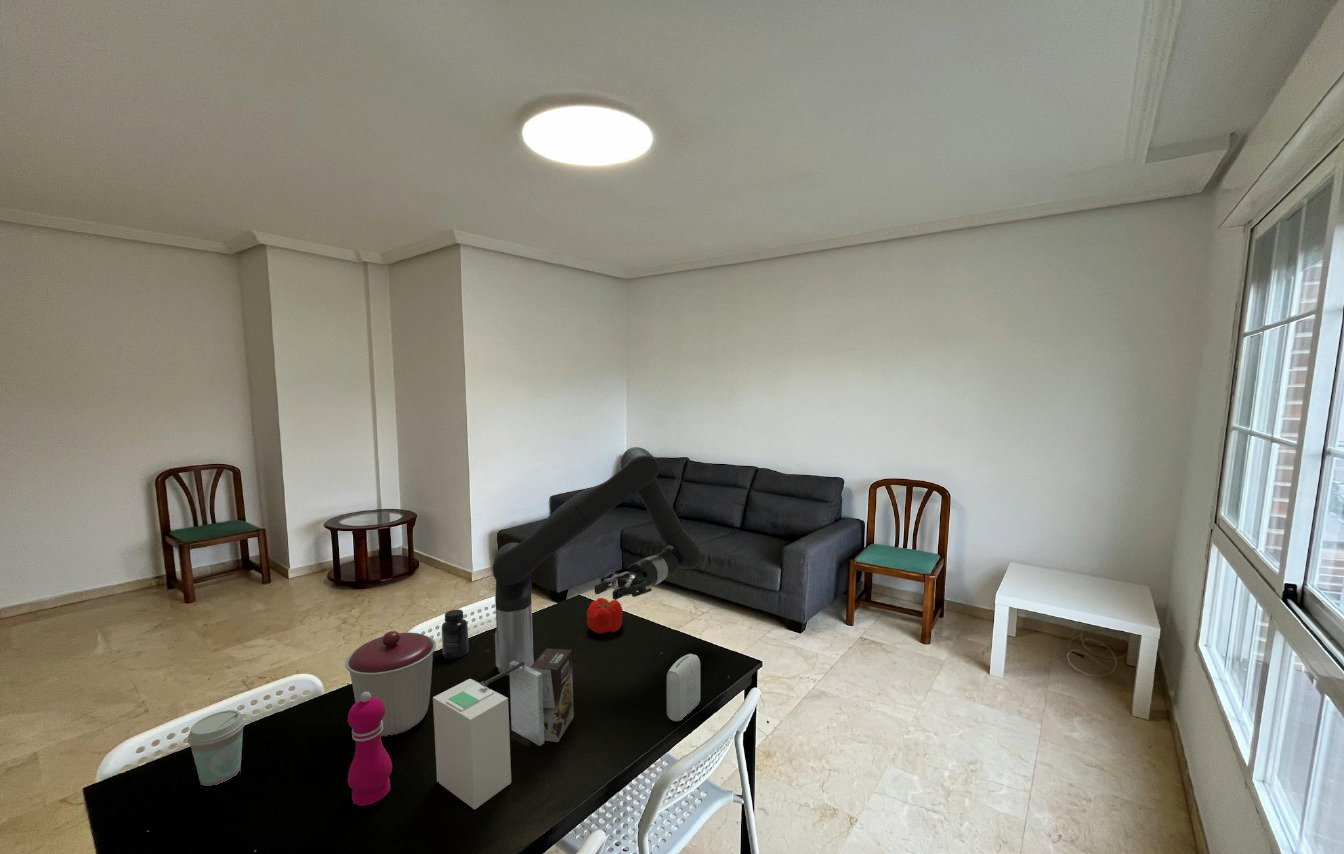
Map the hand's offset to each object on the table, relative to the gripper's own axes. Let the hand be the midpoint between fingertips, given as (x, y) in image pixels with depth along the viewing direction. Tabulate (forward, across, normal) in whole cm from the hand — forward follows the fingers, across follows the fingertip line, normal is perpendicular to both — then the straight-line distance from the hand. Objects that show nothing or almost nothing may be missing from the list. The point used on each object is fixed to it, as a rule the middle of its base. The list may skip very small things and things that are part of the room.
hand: (604, 592), depth 133 cm
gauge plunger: (+29, 0, +23) cm, 37 cm away
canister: (+36, -31, +25) cm, 54 cm away
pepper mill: (+50, -13, +25) cm, 58 cm away
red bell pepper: (-25, -23, +25) cm, 42 cm away
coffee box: (+17, 0, +25) cm, 31 cm away
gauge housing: (+38, 0, +25) cm, 45 cm away
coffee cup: (+65, -41, +25) cm, 81 cm away
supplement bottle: (+11, -48, +25) cm, 55 cm away
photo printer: (-5, +20, +25) cm, 33 cm away
